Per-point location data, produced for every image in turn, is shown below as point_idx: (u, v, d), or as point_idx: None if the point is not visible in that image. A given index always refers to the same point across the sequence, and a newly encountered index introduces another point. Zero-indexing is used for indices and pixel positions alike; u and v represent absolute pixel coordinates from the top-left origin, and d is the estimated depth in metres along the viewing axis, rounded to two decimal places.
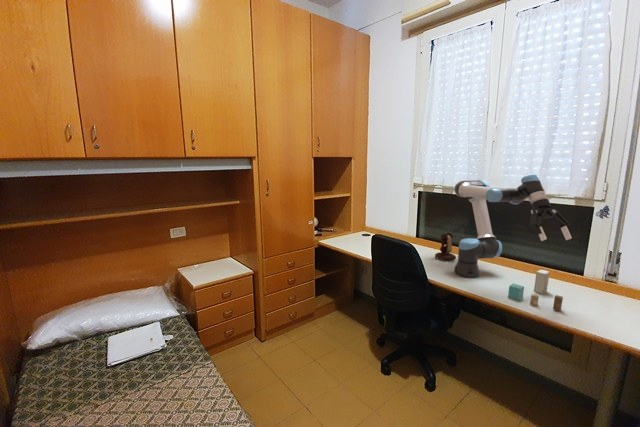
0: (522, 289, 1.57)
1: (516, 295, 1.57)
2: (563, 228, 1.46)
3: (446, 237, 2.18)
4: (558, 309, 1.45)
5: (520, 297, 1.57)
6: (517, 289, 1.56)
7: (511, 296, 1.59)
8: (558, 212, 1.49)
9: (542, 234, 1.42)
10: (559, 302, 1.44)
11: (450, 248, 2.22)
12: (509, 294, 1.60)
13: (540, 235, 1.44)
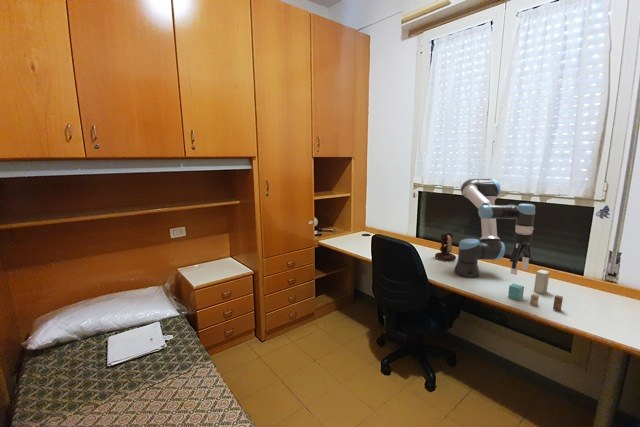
0: (522, 289, 1.57)
1: (516, 295, 1.57)
2: (525, 259, 1.60)
3: (446, 237, 2.18)
4: (558, 309, 1.45)
5: (520, 297, 1.57)
6: (517, 289, 1.56)
7: (511, 296, 1.59)
8: (529, 244, 1.58)
9: (515, 270, 1.52)
10: (559, 302, 1.44)
11: (450, 248, 2.22)
12: (509, 294, 1.60)
13: (512, 269, 1.53)
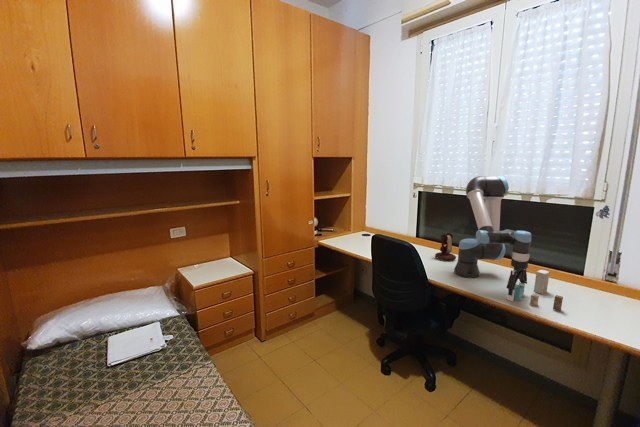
0: (522, 289, 1.57)
1: (516, 295, 1.57)
2: (521, 284, 1.62)
3: (446, 237, 2.18)
4: (558, 309, 1.45)
5: (520, 297, 1.57)
6: (517, 289, 1.56)
7: None
8: (525, 270, 1.60)
9: (511, 296, 1.55)
10: (559, 302, 1.44)
11: (450, 248, 2.22)
12: None
13: (509, 295, 1.56)
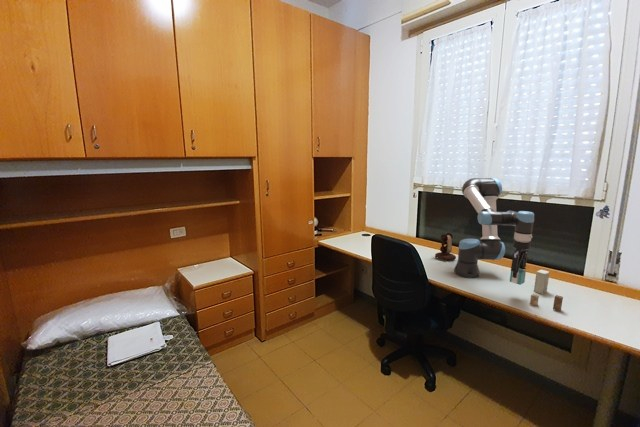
0: (524, 273, 1.56)
1: (518, 279, 1.56)
2: None
3: (446, 237, 2.18)
4: (558, 309, 1.45)
5: (522, 281, 1.56)
6: (519, 273, 1.55)
7: None
8: None
9: (516, 278, 1.56)
10: (559, 302, 1.44)
11: (450, 248, 2.22)
12: (511, 279, 1.59)
13: (513, 278, 1.57)
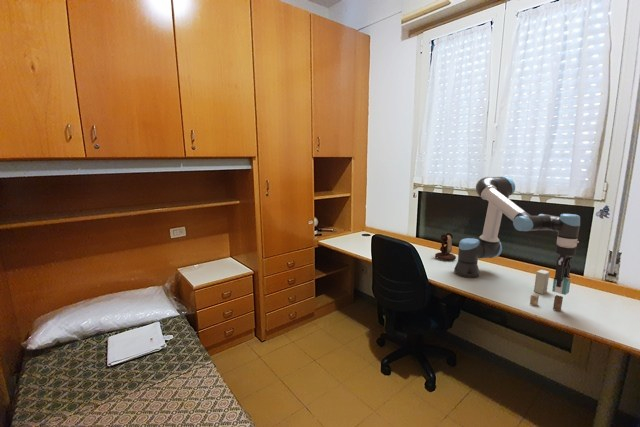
0: (569, 282, 1.42)
1: (563, 289, 1.41)
2: None
3: (446, 237, 2.18)
4: (558, 309, 1.45)
5: (567, 291, 1.42)
6: (563, 282, 1.41)
7: None
8: None
9: (560, 288, 1.42)
10: (559, 302, 1.44)
11: (450, 248, 2.22)
12: (554, 288, 1.44)
13: (557, 287, 1.43)
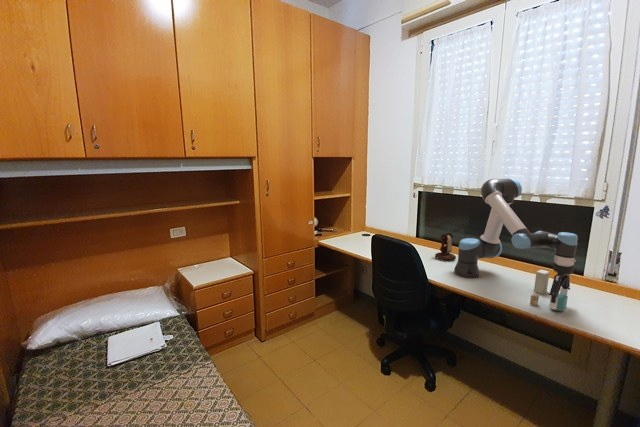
0: (566, 299, 1.44)
1: (560, 305, 1.43)
2: (563, 290, 1.49)
3: (446, 237, 2.18)
4: None
5: (564, 308, 1.44)
6: (561, 299, 1.43)
7: None
8: None
9: (555, 304, 1.41)
10: None
11: (450, 248, 2.22)
12: None
13: (551, 303, 1.42)
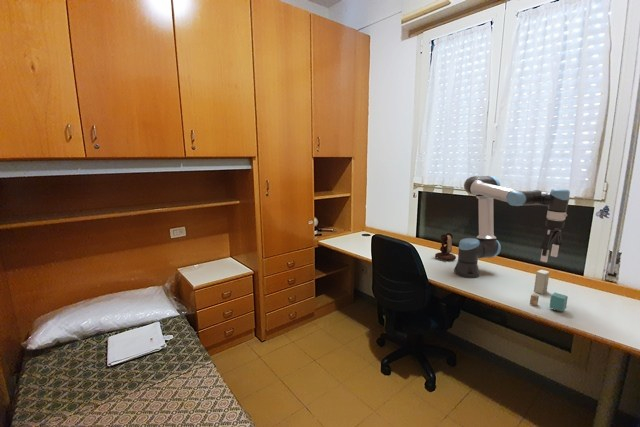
0: (566, 299, 1.44)
1: (560, 305, 1.43)
2: (555, 246, 1.55)
3: (446, 237, 2.18)
4: None
5: (564, 308, 1.44)
6: (561, 299, 1.43)
7: (553, 306, 1.45)
8: (560, 231, 1.52)
9: (545, 257, 1.47)
10: None
11: (450, 248, 2.22)
12: (551, 304, 1.46)
13: (542, 256, 1.49)
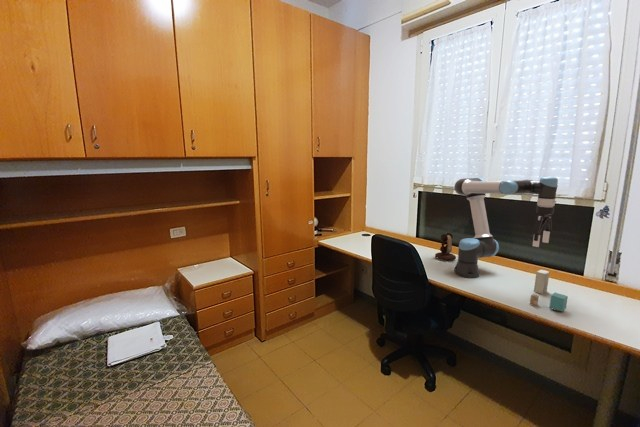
0: (566, 299, 1.44)
1: (560, 305, 1.43)
2: (546, 232, 1.62)
3: (446, 237, 2.18)
4: None
5: (564, 308, 1.44)
6: (561, 299, 1.43)
7: (553, 306, 1.45)
8: None
9: (537, 242, 1.55)
10: None
11: (450, 248, 2.22)
12: (551, 304, 1.46)
13: (534, 241, 1.56)
